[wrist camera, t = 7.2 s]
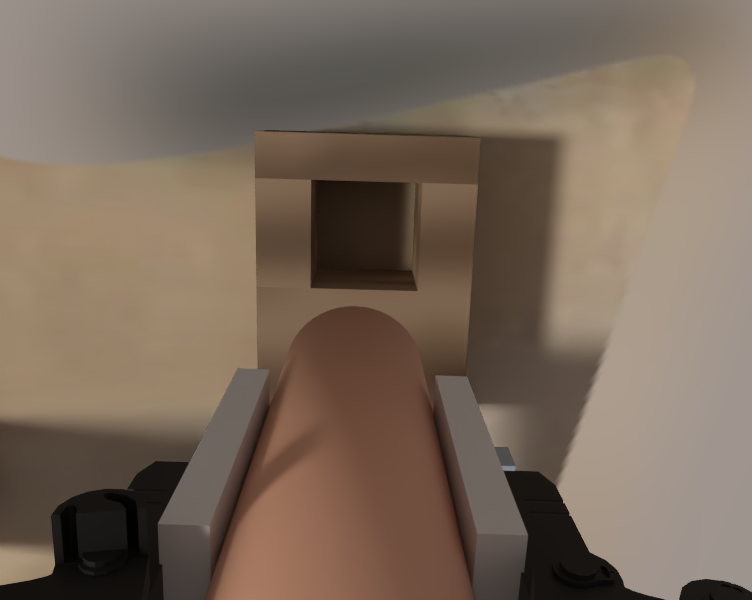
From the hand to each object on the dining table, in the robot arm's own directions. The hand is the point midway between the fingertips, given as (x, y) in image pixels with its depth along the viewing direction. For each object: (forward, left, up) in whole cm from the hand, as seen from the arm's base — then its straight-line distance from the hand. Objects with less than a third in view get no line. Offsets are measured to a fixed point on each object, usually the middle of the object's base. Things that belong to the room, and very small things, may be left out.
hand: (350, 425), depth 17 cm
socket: (+1, 0, -24) cm, 24 cm away
